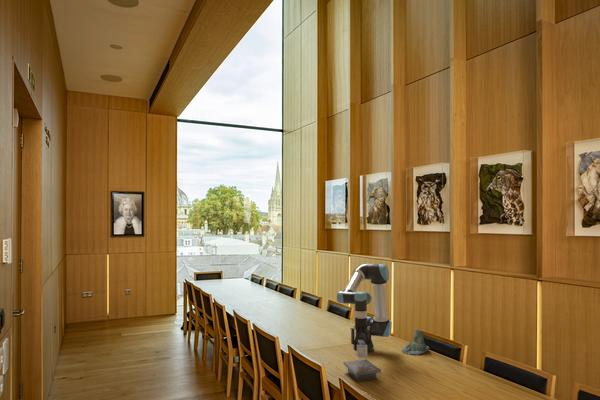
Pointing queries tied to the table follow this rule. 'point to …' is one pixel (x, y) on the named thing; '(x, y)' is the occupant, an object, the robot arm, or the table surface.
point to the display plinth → (362, 370)
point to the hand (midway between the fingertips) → (361, 355)
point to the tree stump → (416, 345)
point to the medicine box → (361, 349)
